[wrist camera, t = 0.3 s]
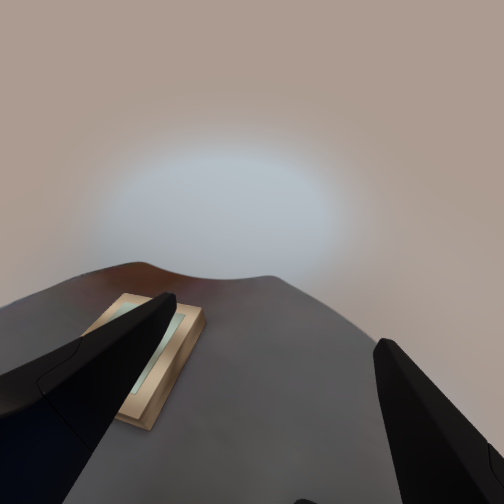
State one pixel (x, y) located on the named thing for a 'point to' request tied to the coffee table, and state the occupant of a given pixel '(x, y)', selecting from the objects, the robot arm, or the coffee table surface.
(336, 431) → the coffee table surface
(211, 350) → the coffee table surface
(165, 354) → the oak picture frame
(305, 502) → the handheld game console
